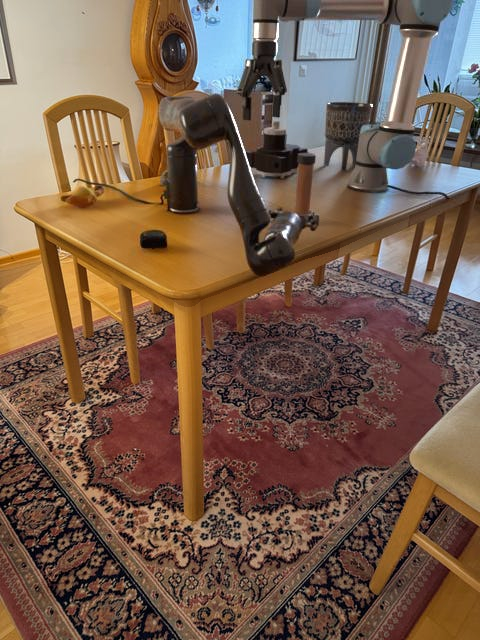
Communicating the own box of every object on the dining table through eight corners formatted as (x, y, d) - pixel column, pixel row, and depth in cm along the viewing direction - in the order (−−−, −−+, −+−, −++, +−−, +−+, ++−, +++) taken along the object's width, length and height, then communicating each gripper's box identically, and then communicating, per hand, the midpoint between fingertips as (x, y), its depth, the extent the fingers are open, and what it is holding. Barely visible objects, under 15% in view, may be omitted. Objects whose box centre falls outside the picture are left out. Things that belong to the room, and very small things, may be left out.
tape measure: (140, 252, 115) (139, 238, 113) (141, 242, 120) (140, 229, 119) (167, 251, 116) (166, 237, 114) (167, 241, 121) (166, 228, 120)
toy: (54, 197, 144) (75, 185, 156) (65, 216, 146) (84, 202, 159) (84, 187, 140) (103, 175, 153) (94, 206, 143) (111, 193, 156)
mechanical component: (240, 120, 182) (283, 115, 202) (239, 174, 192) (280, 164, 212) (283, 126, 170) (325, 120, 190) (280, 183, 180) (320, 171, 200)
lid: (300, 164, 127) (301, 156, 126) (294, 161, 132) (295, 153, 131) (317, 164, 128) (318, 155, 127) (311, 160, 133) (312, 152, 132)
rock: (185, 178, 183) (185, 162, 179) (198, 183, 177) (198, 166, 174) (157, 184, 175) (156, 166, 172) (169, 189, 170) (168, 171, 166)
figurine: (429, 163, 220) (435, 136, 214) (420, 169, 209) (426, 139, 203) (412, 161, 224) (417, 134, 218) (403, 166, 213) (408, 138, 207)
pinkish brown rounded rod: (296, 224, 137) (302, 157, 127) (291, 220, 140) (296, 154, 131) (310, 224, 138) (316, 157, 128) (305, 219, 141) (311, 154, 131)
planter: (313, 167, 208) (319, 103, 195) (331, 160, 222) (338, 101, 209) (353, 173, 199) (362, 107, 185) (369, 166, 213) (379, 104, 199)
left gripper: (315, 219, 109) (322, 201, 123) (257, 213, 112) (271, 196, 126) (311, 248, 113) (319, 228, 127) (256, 242, 116) (270, 222, 130)
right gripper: (282, 42, 144) (278, 115, 155) (225, 39, 129) (225, 120, 140) (301, 42, 140) (295, 117, 150) (244, 39, 124) (242, 122, 135)
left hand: (295, 212), depth 126 cm, fingers open, 8 cm apart
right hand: (261, 118), depth 145 cm, fingers open, 13 cm apart
